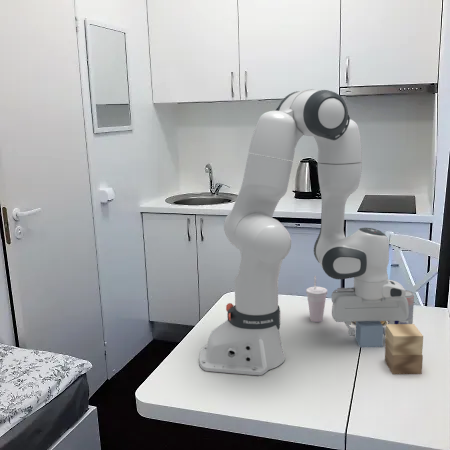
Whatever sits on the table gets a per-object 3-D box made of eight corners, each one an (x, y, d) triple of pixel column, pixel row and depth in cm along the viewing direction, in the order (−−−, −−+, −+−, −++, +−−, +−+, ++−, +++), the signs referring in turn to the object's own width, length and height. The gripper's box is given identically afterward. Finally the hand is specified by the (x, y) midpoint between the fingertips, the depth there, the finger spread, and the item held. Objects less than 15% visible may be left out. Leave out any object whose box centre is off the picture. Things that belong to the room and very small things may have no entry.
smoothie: (309, 314, 163) (309, 272, 160) (329, 317, 160) (330, 274, 157) (303, 322, 157) (303, 278, 154) (323, 325, 155) (324, 280, 151)
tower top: (392, 355, 125) (393, 336, 124) (385, 342, 132) (385, 324, 130) (422, 355, 124) (423, 336, 123) (413, 342, 131) (414, 324, 130)
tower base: (392, 374, 126) (393, 355, 125) (384, 360, 133) (385, 342, 131) (421, 374, 125) (422, 355, 124) (412, 360, 132) (413, 342, 131)
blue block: (360, 347, 140) (360, 327, 139) (355, 338, 146) (355, 318, 144) (382, 347, 140) (383, 326, 138) (376, 337, 146) (377, 317, 144)
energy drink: (396, 326, 152) (398, 288, 149) (414, 331, 149) (417, 292, 146) (389, 333, 148) (391, 293, 145) (407, 338, 145) (410, 297, 142)
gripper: (333, 292, 137) (333, 340, 140) (412, 290, 136) (409, 339, 139) (329, 284, 143) (328, 330, 146) (404, 282, 142) (402, 329, 145)
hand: (368, 334), depth 142 cm, fingers open, 8 cm apart
